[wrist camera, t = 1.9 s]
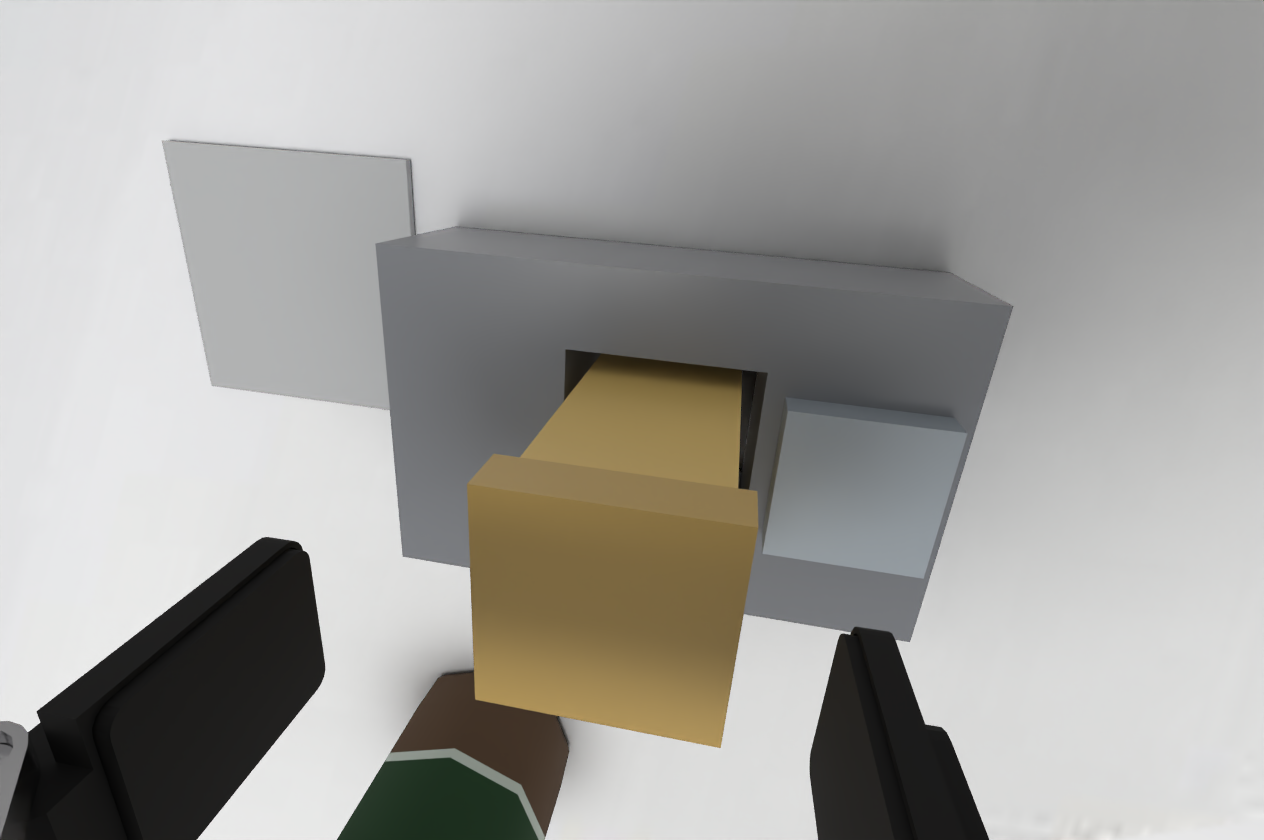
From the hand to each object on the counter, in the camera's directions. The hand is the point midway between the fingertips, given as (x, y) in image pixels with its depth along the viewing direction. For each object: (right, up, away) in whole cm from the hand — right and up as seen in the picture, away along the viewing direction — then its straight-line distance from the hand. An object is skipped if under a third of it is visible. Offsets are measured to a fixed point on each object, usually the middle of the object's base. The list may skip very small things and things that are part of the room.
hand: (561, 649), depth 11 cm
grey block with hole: (+3, +5, +11) cm, 13 cm away
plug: (+3, +5, +11) cm, 13 cm away
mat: (-11, +9, +12) cm, 19 cm away
